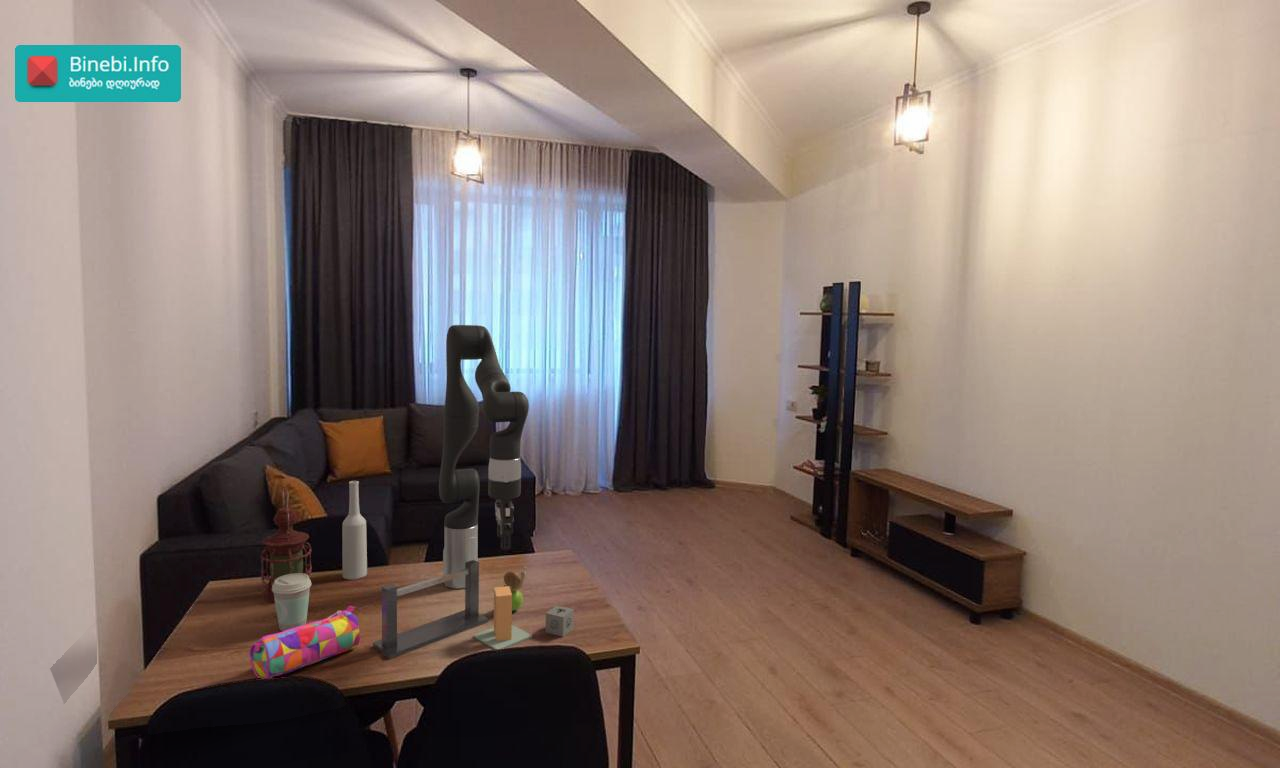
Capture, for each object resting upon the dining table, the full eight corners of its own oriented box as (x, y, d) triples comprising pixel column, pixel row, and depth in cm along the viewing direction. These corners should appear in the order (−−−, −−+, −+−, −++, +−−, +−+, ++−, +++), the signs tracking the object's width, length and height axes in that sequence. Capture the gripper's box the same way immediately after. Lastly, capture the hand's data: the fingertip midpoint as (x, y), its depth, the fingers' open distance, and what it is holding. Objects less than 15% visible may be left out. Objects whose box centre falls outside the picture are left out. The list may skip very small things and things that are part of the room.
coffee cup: (274, 621, 163) (273, 574, 162) (313, 616, 166) (312, 570, 165) (270, 637, 155) (269, 588, 154) (311, 631, 158) (310, 583, 157)
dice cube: (573, 628, 164) (573, 609, 164) (563, 637, 160) (563, 617, 159) (556, 624, 166) (556, 605, 166) (545, 632, 162) (545, 613, 161)
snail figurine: (521, 615, 170) (522, 570, 169) (498, 612, 171) (498, 568, 170) (529, 607, 175) (529, 563, 174) (506, 604, 177) (507, 561, 176)
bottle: (350, 570, 197) (349, 478, 194) (371, 571, 196) (370, 479, 193) (337, 578, 190) (336, 483, 188) (359, 580, 189) (358, 485, 187)
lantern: (316, 597, 177) (314, 488, 174) (265, 608, 170) (262, 494, 167) (307, 582, 187) (305, 479, 184) (258, 592, 180) (255, 484, 177)
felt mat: (473, 636, 158) (473, 635, 158) (507, 623, 166) (507, 621, 166) (497, 651, 152) (497, 649, 152) (532, 636, 159) (532, 635, 159)
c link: (493, 630, 161) (494, 587, 160) (508, 629, 162) (509, 586, 161) (496, 641, 155) (496, 596, 154) (511, 639, 157) (512, 594, 156)
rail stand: (372, 646, 152) (372, 583, 151) (469, 612, 171) (469, 556, 170) (389, 659, 147) (389, 594, 145) (487, 622, 166) (488, 564, 165)
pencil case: (342, 637, 156) (342, 600, 156) (365, 649, 151) (365, 611, 150) (245, 675, 139) (244, 634, 138) (267, 691, 133) (266, 648, 132)
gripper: (485, 469, 160) (485, 534, 162) (491, 484, 147) (490, 554, 148) (516, 468, 163) (515, 532, 164) (525, 482, 149) (523, 552, 151)
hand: (503, 542), depth 156 cm, fingers open, 8 cm apart
